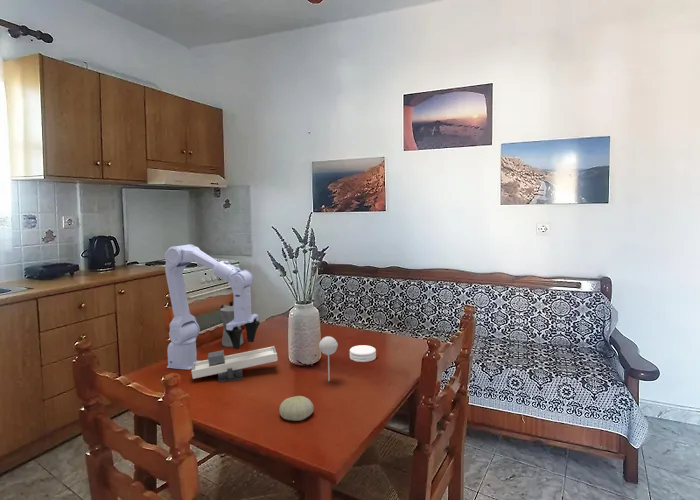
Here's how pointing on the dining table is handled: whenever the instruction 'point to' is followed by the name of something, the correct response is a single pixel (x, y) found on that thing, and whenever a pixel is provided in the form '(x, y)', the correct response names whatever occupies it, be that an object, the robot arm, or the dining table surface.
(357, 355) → the coaster
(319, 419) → the dining table surface
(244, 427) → the dining table surface
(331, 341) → the lollipop
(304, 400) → the sea urchin shell
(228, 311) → the coffeepot
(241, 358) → the beam
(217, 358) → the grey block
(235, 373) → the stand
